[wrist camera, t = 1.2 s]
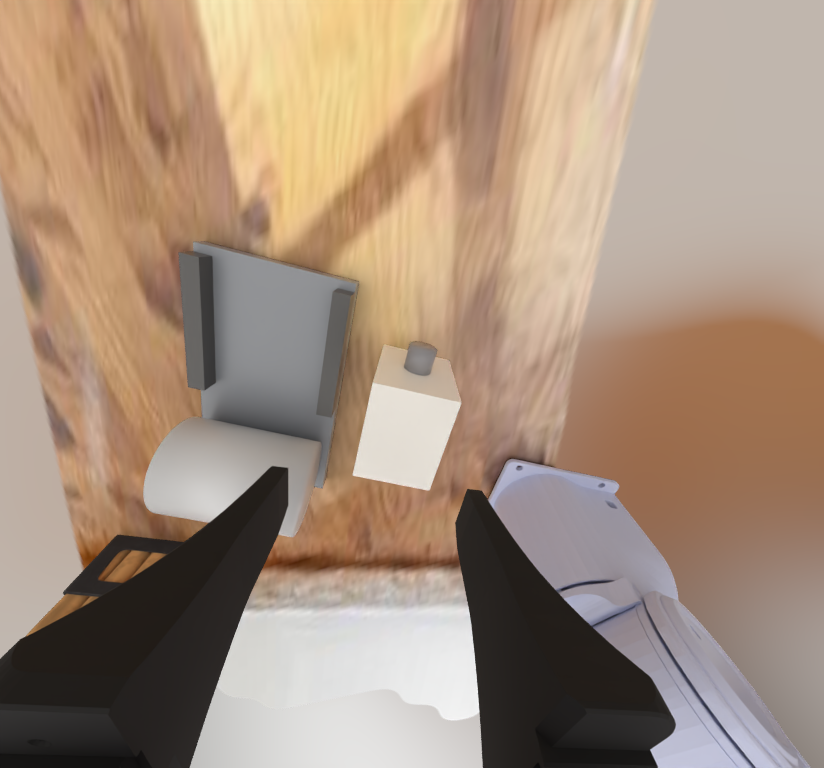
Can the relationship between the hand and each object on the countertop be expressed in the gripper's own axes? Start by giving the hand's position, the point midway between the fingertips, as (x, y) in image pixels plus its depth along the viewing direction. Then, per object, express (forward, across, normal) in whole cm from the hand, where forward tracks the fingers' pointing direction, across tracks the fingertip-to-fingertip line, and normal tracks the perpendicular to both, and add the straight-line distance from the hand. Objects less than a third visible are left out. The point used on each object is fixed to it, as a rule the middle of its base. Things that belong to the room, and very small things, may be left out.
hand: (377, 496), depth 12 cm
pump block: (+10, -1, 0) cm, 10 cm away
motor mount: (+10, +8, +1) cm, 13 cm away
